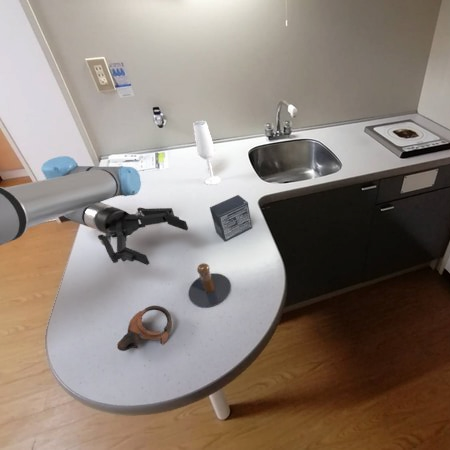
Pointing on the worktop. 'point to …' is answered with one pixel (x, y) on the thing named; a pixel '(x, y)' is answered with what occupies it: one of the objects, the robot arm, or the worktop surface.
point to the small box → (231, 217)
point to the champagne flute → (205, 148)
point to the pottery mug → (144, 330)
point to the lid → (209, 288)
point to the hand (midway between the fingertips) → (167, 242)
